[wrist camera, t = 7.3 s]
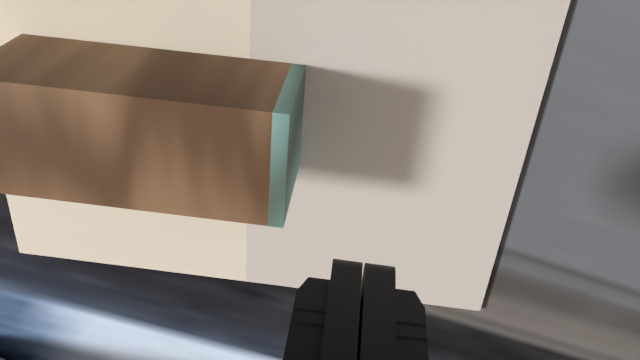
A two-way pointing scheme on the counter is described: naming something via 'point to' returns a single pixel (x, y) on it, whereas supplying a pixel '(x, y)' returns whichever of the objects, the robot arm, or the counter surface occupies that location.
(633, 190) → the counter surface
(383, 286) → the robot arm
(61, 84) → the walnut block
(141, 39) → the cream flat rectangular panel
